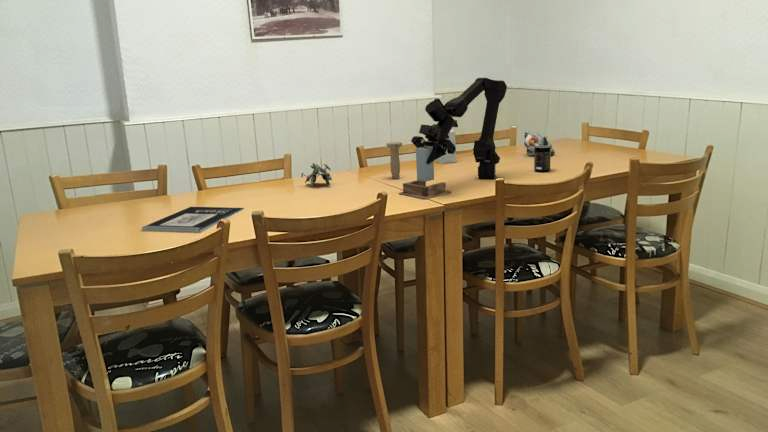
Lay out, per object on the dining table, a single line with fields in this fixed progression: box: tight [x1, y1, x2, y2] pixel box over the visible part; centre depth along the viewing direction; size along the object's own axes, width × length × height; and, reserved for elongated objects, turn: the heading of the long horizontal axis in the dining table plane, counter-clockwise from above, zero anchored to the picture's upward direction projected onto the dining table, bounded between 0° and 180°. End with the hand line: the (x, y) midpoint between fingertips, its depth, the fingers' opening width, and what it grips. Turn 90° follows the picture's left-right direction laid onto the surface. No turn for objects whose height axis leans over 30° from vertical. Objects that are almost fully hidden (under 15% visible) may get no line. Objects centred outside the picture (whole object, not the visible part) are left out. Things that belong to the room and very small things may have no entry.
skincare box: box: [436, 129, 457, 165], centre depth 297 cm, size 8×6×15 cm
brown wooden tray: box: [398, 179, 452, 201], centre depth 238 cm, size 14×14×4 cm
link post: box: [415, 146, 435, 183], centre depth 236 cm, size 4×4×12 cm
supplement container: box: [533, 145, 552, 173], centre depth 268 cm, size 7×7×10 cm
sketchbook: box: [141, 206, 244, 234], centre depth 216 cm, size 22×30×2 cm
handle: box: [386, 141, 403, 180], centre depth 266 cm, size 5×6×15 cm
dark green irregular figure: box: [300, 162, 333, 188], centre depth 260 cm, size 11×11×12 cm
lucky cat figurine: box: [523, 131, 556, 157], centre depth 304 cm, size 15×12×14 cm
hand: (422, 163), depth 235 cm, fingers closed on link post, 4 cm apart
